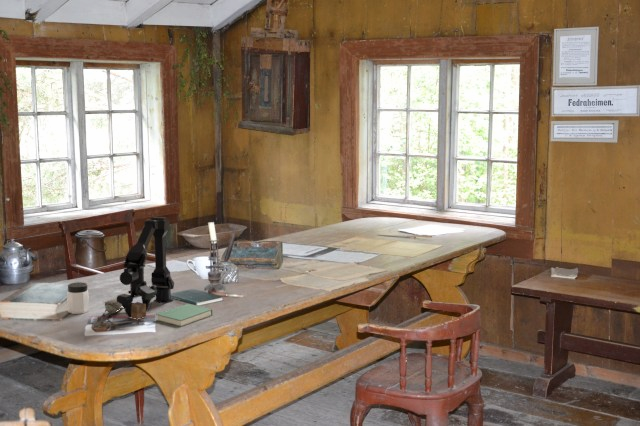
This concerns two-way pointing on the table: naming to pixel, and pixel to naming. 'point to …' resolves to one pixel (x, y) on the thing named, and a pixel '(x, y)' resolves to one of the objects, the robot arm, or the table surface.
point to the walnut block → (138, 310)
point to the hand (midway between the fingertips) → (137, 314)
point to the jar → (77, 298)
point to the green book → (184, 314)
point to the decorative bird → (112, 306)
